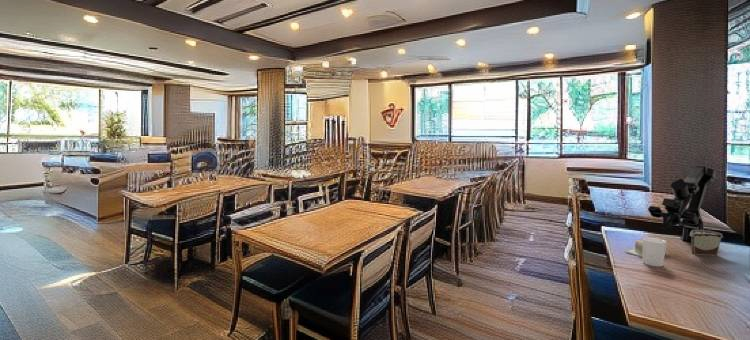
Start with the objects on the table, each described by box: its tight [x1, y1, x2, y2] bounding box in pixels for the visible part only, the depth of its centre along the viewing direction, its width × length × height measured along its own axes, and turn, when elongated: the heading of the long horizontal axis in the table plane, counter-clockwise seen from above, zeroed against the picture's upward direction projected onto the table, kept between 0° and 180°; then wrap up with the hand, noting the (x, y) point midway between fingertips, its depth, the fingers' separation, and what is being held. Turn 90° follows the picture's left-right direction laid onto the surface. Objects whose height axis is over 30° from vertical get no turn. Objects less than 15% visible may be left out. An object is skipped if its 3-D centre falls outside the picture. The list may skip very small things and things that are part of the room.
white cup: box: [642, 237, 668, 267], centre depth 155 cm, size 8×8×10 cm
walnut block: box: [634, 238, 643, 254], centre depth 170 cm, size 5×5×12 cm
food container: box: [690, 229, 724, 256], centre depth 170 cm, size 12×6×10 cm, turn 84°
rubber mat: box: [625, 248, 667, 258], centre depth 169 cm, size 14×9×1 cm, turn 115°
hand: (663, 229), depth 173 cm, fingers closed
